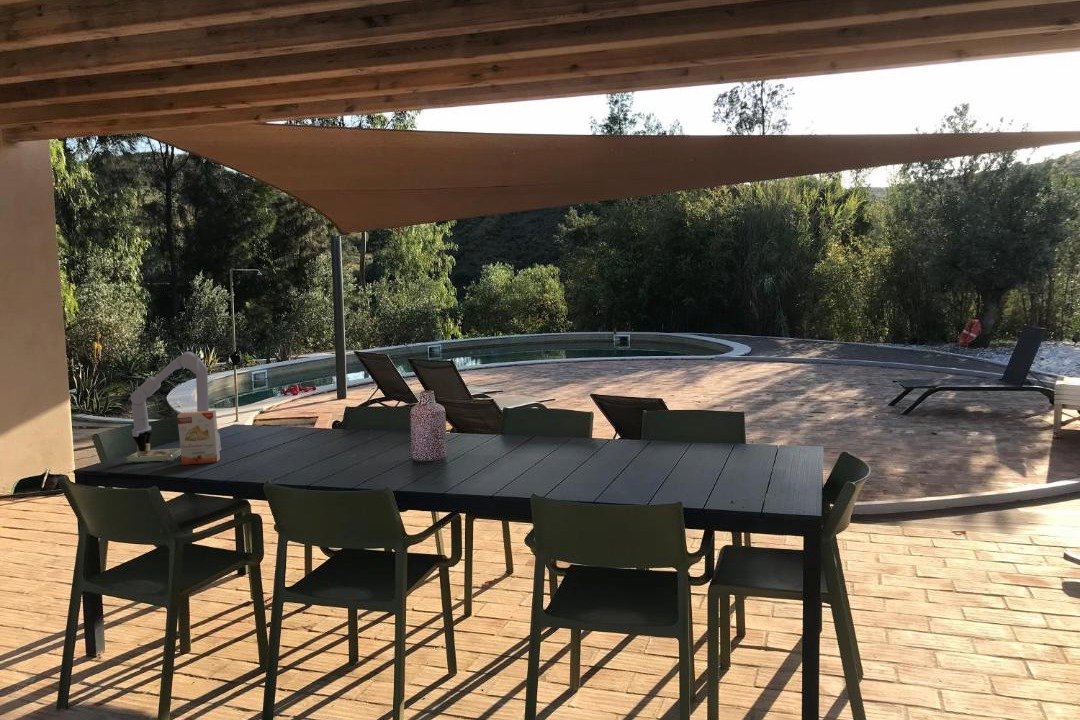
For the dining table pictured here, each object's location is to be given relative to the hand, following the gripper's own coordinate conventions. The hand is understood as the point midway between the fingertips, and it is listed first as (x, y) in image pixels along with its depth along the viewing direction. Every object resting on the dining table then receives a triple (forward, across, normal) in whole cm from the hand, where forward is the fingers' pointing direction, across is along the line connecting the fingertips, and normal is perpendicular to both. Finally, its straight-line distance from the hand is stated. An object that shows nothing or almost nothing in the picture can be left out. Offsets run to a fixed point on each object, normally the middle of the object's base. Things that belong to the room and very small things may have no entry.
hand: (144, 450), depth 372 cm
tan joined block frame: (+3, 0, +4) cm, 5 cm away
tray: (+4, 0, +4) cm, 6 cm away
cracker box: (+4, +14, +28) cm, 32 cm away
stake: (+4, +12, +15) cm, 20 cm away
